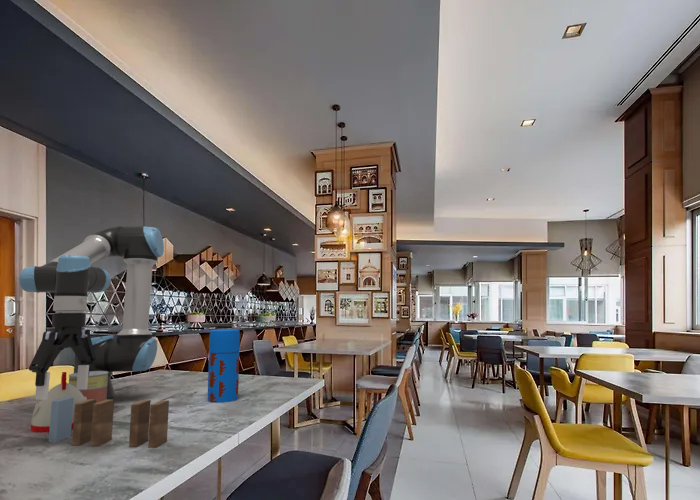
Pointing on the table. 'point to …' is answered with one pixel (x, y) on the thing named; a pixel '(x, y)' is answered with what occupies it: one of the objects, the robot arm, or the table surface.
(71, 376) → the canned food
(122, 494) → the table surface
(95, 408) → the domino
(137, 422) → the domino
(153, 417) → the domino
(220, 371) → the thermos
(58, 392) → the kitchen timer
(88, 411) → the domino
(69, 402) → the domino
